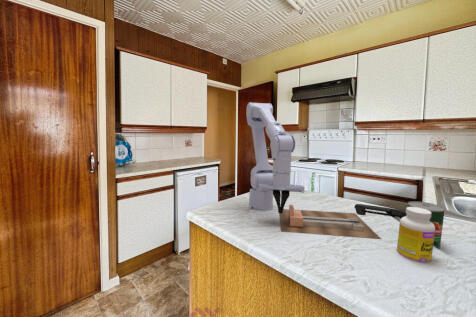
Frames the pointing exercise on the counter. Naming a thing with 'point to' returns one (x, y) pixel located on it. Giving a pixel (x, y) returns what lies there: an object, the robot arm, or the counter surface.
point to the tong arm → (332, 219)
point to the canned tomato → (433, 218)
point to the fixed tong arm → (334, 224)
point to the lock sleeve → (295, 217)
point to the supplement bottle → (416, 235)
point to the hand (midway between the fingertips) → (280, 212)
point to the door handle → (392, 212)
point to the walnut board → (322, 230)
